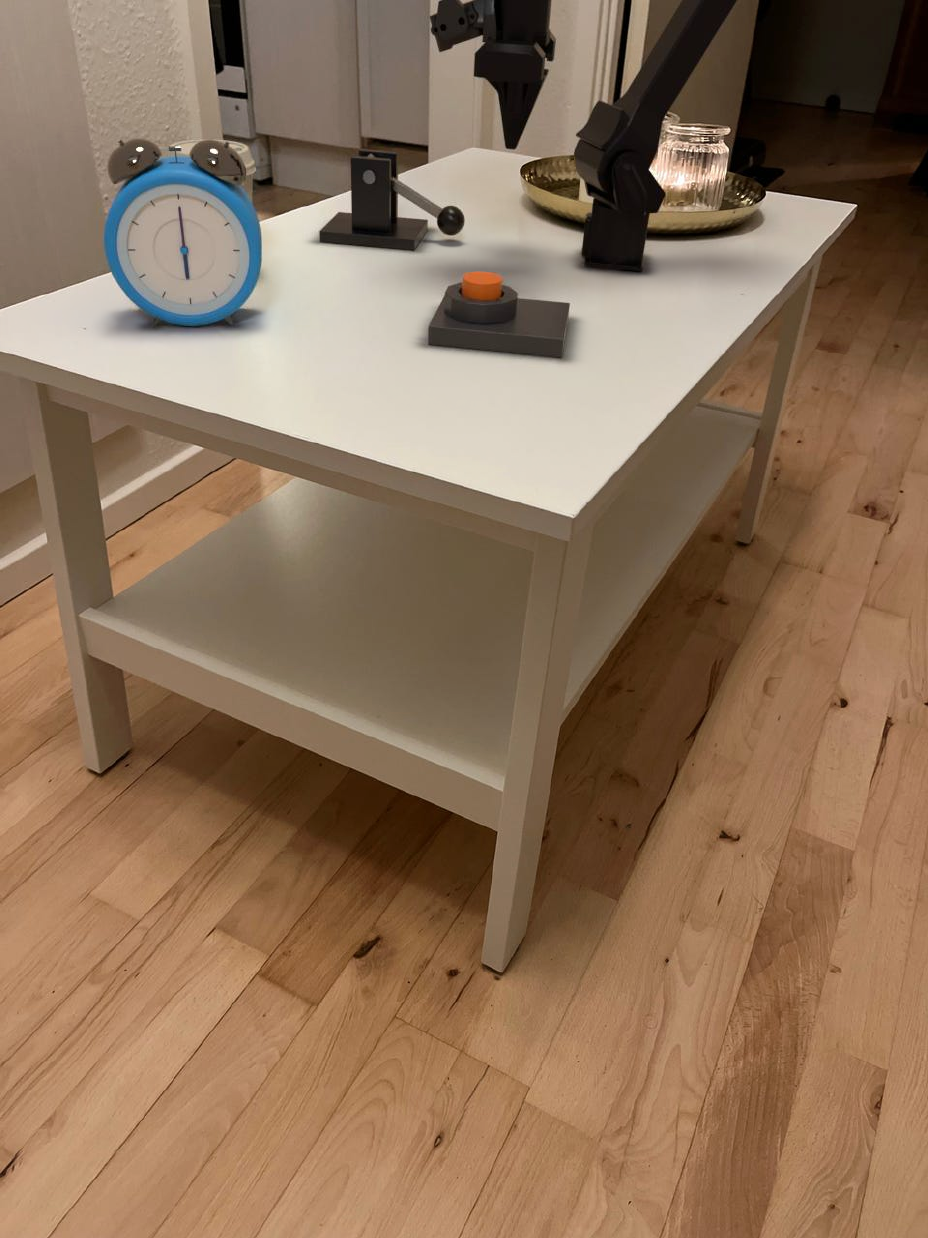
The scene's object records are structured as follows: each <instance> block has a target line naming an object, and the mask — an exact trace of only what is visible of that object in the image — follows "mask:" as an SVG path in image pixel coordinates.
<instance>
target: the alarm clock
mask: <svg viewBox="0 0 928 1238" xmlns="http://www.w3.org/2000/svg"><path fill="white" fill-rule="evenodd" d="M202 140H203V141H200V142H198V143H196V144H195V145H194V146H193V147H192V149H191V151H190V153H189V156H190V157H180V156H177V157H176V151H181V147H174V146H170V145H169V146H168V152H169V151H175V157H168V156H166V157H162V156H163V152H162V150H161V149H160V147H159V146H158V145H157V144H156V143H155V142H153V141H151V140H149V139H146V138H140V137H137V138H130V139H128V140H126V141H123V140H122V139H119V140H118V141H117V143H118V144H119V145H117V147H115V148H114V149H113V150H112V152H110V154H109V156H108V159H107V163H106V173H107V176H108V178H109V180H110V182H111V183H112V184H113V185H118V184H120V183H122V184H121V186H120V188H119V189H118V191H117V193H116V195H115V197H114V199H113V201H112V204H111V206H110V208H109V210H108V213H107V216H106V219H105V223H104V229H103V230H104V231H103V246H104V253H105V258H106V261H107V265H108V267H109V270H110V272H111V275H112V277H113V279H114V280H115V282H116V284H117V285H118V287H119V288H120V290H121V291H122V292H123V294H124V295H125V296H126V297H127V298H128V299H129V300H130V301H131V302H132V303H133V304H135V306H137V307H138V308H140V310H142V311H143V312H145V313H147V314H148V315H150V316H152V317H153V322H152V326H153V327H156V326H157V324H158V323H159V321H160V320H161V321H163V322H166V323H169V324H174V325H177V326H186V327H199V326H204V325H205V326H206V325H209V324H214V323H217V322H219V321H222V320H225V321H226V322H227V323H228V324H229V325H230V326H234V322H233V320H232V318H231V315H233V314H235V312H236V311H238V310H239V309H241V307H243V305H245V303H246V302H247V300H249V298H250V297H251V295H252V294H253V292H254V290H255V288H256V286H257V283H258V282H259V281H258V280H259V277H260V274H261V270H262V261H263V260H262V259H263V256H262V255H263V253H262V252H263V251H262V249H263V248H262V247H263V246H262V244H263V243H262V228H261V224H260V219H259V216H258V213H257V211H256V208H255V206H254V204H253V201H252V202H251V200H250V199H249V197H248V196H247V194H246V193H245V191H244V190H243V189H242V187H241V186H242V185H243V184H244V182H245V179H246V167H245V164H244V162H243V160H242V158H241V157H240V155H239V154H238V153H237V152H236V151H235V150H234V149H233V148H231V147H230V146H229V144H230V143H229V142H227V141H228V140H226V143H223V142H220V141H217V140H218V139H202Z"/></svg>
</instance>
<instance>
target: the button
mask: <svg viewBox="0 0 928 1238" xmlns="http://www.w3.org/2000/svg"><path fill="white" fill-rule="evenodd" d="M461 279H462V280H461V282H462V296H464V297H468V298H471V299H477V300H494V299H498V298H501V290H502V285H503V277H502V276H501V275H499V274H497V273H494V272H489V271H470V272H466V273H464V274H463V275H462V278H461Z"/></svg>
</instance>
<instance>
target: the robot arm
mask: <svg viewBox="0 0 928 1238" xmlns="http://www.w3.org/2000/svg"><path fill="white" fill-rule="evenodd" d="M738 1H739V0H681V1H680V3H679V5H677V8H676V9H675V11H674V12H673V14H672V16H671V18H670V19H669V20H668V22H667V24H666V26H665V28H664V30H663V31H662V32H661V34H660V36H659V38H658V39H657V41H656V43H655V44H654V46H653V48H652V49H651V51H650V52H649V54H648V56H647V57H646V59H645V60H644V62H643V64H642V65H641V68H640V69H639V71H638V72H637V73H636V75H635V77H634V79H633V80H632V82H631V84H630V85H629V87H628V89H627V90H626V91H625V93H624V94H623V95H622V96H621V97H620V98H619V99H617V100H616V101H615V102H614V103H612V104H610V103H608V102H605V101H602V100H599V99H598V100H597V101H596V103H595V105H594V106H593V108H592V110H591V113H590V115H589V117H588V119H587V121H586V123H585V124H584V126H583V127H582V128H581V129H580V130H579V131H577V133H576V134H575V136H576V138H578V142H577V143H576V146H575V148H574V151H573V159H574V167H575V170H576V172H577V175H578V177H580V178H581V179H582V180H583V183H584V187H585V192H586V195H587V196H588V197H590V198H591V197H592V198H593V199H592V206H591V212H589V211H588V212H587V213H586V214H585V219H584V227H583V228H584V229H583V235H582V245H581V254H580V255H581V256H582V257H583V258H584V266H585V267H592V268H602V269H613V270H614V269H615V270H624V271H634V272H635V271H636V272H642V271H644V254H645V246H646V240H647V233H648V227H649V220H650V214H657V213H659V211H660V209H661V206H662V204H663V202H664V200H665V198H666V191H665V189H664V188H663V187H662V186H661V184H660V183H659V182H658V180H657V179H656V177H655V176H654V175H653V173H652V172H651V170H650V168H651V167H652V164H653V162H654V160H655V158H656V156H657V153H658V151H659V146H660V140H661V134H662V129H663V123H664V120H665V118H666V117H667V114H668V113H669V111H670V110H671V108H672V106H673V105H674V103H675V102H676V100H677V98H678V97H679V95H680V94H681V92H682V90H683V89H684V87H685V86H686V84H687V82H688V81H689V80H690V78H691V76H692V75H693V73H694V71H695V70H696V68H697V66H698V65H699V63H700V61H702V59H703V57H704V55H705V53H706V52H707V51H708V49H709V47H710V45H711V44H712V42H713V41H714V39H715V38H716V36H717V35H718V33H719V31H720V30H721V28H722V27H723V25H724V23H725V21H726V20H727V18H728V17H729V15H730V14H731V12H732V10H733V9H734V7H735V6H736V4H737V3H738ZM552 2H553V0H470V1H469V0H468V1H466V2H462V1H461V0H438V2H437V9H436V12H435V13H434V14H432V15H429V20H430V24H431V27H430V33H431V34H432V36H434V39H435V42H436V46H437V49H438V52H439V53H442V52H446V51H449V50H452V49H453V47H454V46H456V45H458V44H461V43H465V42H467V41H471V40H474V39H476V38H480V37H481V36H482V41H481V42H482V43H483V44H482V45H481V46H480V47H479V48H478V49H477V50H476V51H475V53H474V59H473V77H476V78H478V79H484V80H485V81H487V82H488V83H489V84H490V86H492V88H493V89H494V90H495V91H496V93H497V98H498V104H499V111H500V118H501V127H502V134H503V141H504V148H505V149H507V150H516V149H517V148H518V146H519V144H520V141H521V138H522V136H523V133H524V131H525V129H526V127H527V124H528V122H529V119H530V116H531V114H532V113H533V110H534V108H535V105H536V103H537V101H538V99H539V96H540V93H541V91H542V88H543V86H544V84H545V82H546V79H547V77H548V75H549V72H550V70H549V69H548V68H545V66H546V62H554V60H555V53H556V44H557V43H556V41H557V38H556V37H555V35H554V34H553V32H552V31H551V29H550V24H551V23H550V22H551V13H552V12H551V11H552Z"/></svg>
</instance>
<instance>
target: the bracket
mask: <svg viewBox="0 0 928 1238" xmlns="http://www.w3.org/2000/svg"><path fill="white" fill-rule="evenodd" d="M370 154H373V155H374V156H376V157H377V158H374V157H367V156H369V155H370ZM391 167H392V168H391ZM391 176H393V177H394V178H396V179H397V180H399V152H398V151H393V150H392V151H391V150H379V149H368V148H367V149H366V148H360V149H359V150H358V155H352V156H351V157H350V198H351V199H350V202H351V203H350V204H351V210H350V211H351V212H343V211H338V212H337V213H336V214H335V215H334V216H333V217H332V218H331V219H330V220H329V221H328V222H327V223H326V224H325V225H324V226H323V227H322V228H320V230H319V231H318V232H319V233H318V234H319V235H318V236H319V243H328V244H329V243H330V244H338V245H339V244H341V245H351V246H363V247H374V248H383V249H384V248H385V249H396V250H405V251H406V250H407V251H415V250H416V248H417V247H418V245H419V243H420V242H421V240H422V239H423V238H424V236H425V235H426V233H427V232H428V230H429V219H426V218H425V219H423V218H413V217H412V218H411V217H401V216H399V194H398V193H397V192H395V191H393V190H392V189H391Z"/></svg>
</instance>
